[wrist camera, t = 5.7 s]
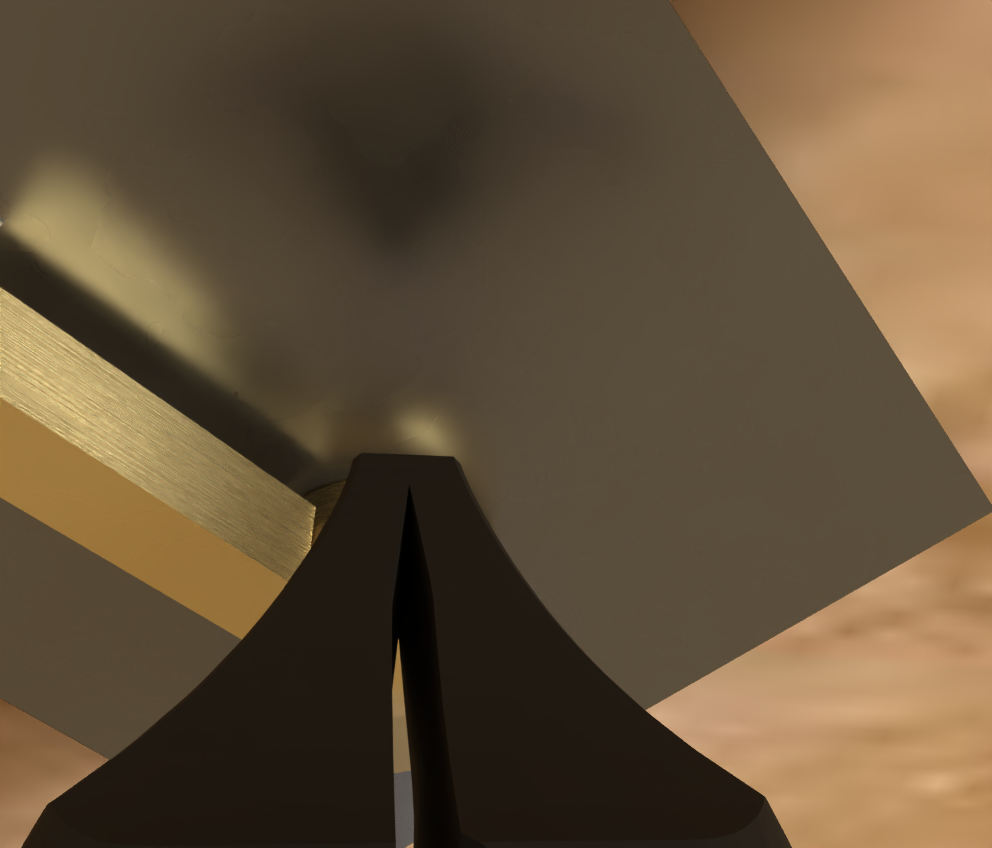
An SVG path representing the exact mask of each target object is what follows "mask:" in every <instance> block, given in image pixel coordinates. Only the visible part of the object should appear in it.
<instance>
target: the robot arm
mask: <svg viewBox="0 0 992 848" xmlns="http://www.w3.org/2000/svg"><path fill="white" fill-rule="evenodd" d="M398 638H399V650H400V661H401V672H402V683H403V693H404V704H405V715H406V725H407V736H408V747H409V757H410V768H411V778H412V793H413V813H414V848H792V847H791V845H790V843H789V841H788V839H787V837H786V835H785V833H784V831H783V829H782V827H781V826H780V824H779V822H778V820H777V818H776V816H775V814H774V812H773V810H772V809H771V807H770V805H769V803H768V801H767V799H766V798H765V797H764V796H763V795H762V794H760V793H759V792H757V791H756V790H754V789H753V788H751V787H750V786H748V785H747V784H745V783H744V782H742V781H741V780H739V779H738V778H736V777H735V776H733V775H732V774H730V773H729V772H727V771H726V770H724V769H723V768H721V767H720V766H718V765H717V764H716V763H714V762H713V761H711V760H710V759H708V758H707V757H705V756H704V755H702V754H701V753H699V752H698V751H696V750H695V749H694V748H692V747H691V746H690V745H688V744H687V743H686V742H684V741H683V740H682V739H681V738H679V737H678V736H677V735H675V734H674V733H673V732H672V731H670V730H669V729H668V728H667V727H665V726H664V725H663V724H661V723H660V722H659V721H658V720H656V719H655V718H654V717H653V716H651V715H650V714H649V713H648V712H647V711H645V710H644V709H643V708H642V707H641V706H640V705H639V704H638V703H637V702H636V701H634V700H633V699H632V698H631V697H630V696H629V695H628V694H627V693H626V692H625V691H623V690H622V689H621V688H620V687H619V686H618V685H617V684H616V683H615V682H614V681H612V680H611V679H610V678H609V677H608V676H607V675H606V674H605V673H604V672H603V671H602V670H601V669H600V668H599V667H598V666H597V665H596V664H595V663H594V662H593V661H592V660H591V659H590V658H589V657H588V655H587V654H586V653H585V652H584V651H583V650H582V649H581V648H580V647H579V646H578V645H577V644H576V642H575V641H574V640H573V639H572V638H571V637H570V636H569V635H568V633H567V632H566V631H565V630H564V629H563V628H562V627H561V625H560V624H559V623H558V622H557V621H556V619H555V618H554V617H553V616H552V614H551V613H550V612H549V611H548V609H547V608H546V607H545V606H544V604H543V603H542V602H541V600H540V599H539V598H538V596H537V595H536V594H535V592H534V591H533V589H532V588H531V587H530V585H529V584H528V583H527V581H526V580H525V579H524V577H523V576H522V574H521V573H520V571H519V570H518V568H517V567H516V565H515V564H514V562H513V561H512V559H511V558H510V556H509V555H508V553H507V551H506V550H505V548H504V547H503V545H502V543H501V542H500V540H499V539H498V537H497V535H496V534H495V532H494V531H493V529H492V527H491V525H490V524H489V522H488V520H487V518H486V517H485V515H484V513H483V511H482V509H481V507H480V505H479V504H478V502H477V500H476V498H475V496H474V494H473V492H472V490H471V488H470V485H469V483H468V481H467V479H466V476H465V474H464V472H463V469H462V466H461V464H460V463H459V462H458V461H457V460H456V459H455V457H454V456H432V455H407V454H382V453H361V454H359V455H358V456H357V457H355V458H354V459H353V460H352V465H351V469H350V472H349V475H348V478H347V480H346V483H345V485H344V488H343V490H342V492H341V494H340V496H339V498H338V500H337V502H336V504H335V506H334V508H333V510H332V512H331V514H330V516H329V518H328V519H327V521H326V523H325V525H324V526H323V528H322V530H321V532H320V533H319V535H318V537H317V539H316V540H315V542H314V544H313V545H312V547H311V549H310V550H309V552H308V553H307V555H306V556H305V558H304V559H303V561H302V562H301V564H300V565H299V567H298V568H297V569H296V571H295V572H294V574H293V575H292V577H291V578H290V580H289V581H288V582H287V584H286V585H285V587H284V588H283V590H282V591H281V592H280V594H279V595H278V596H277V598H276V599H275V600H274V602H273V603H272V604H271V605H270V607H269V608H268V609H267V610H266V612H265V613H264V614H263V615H262V617H261V618H260V619H259V620H258V621H257V623H256V624H255V625H254V626H253V627H252V629H251V630H250V631H249V632H248V633H247V634H246V636H245V637H244V638H243V639H242V640H241V641H240V642H239V643H238V645H237V646H236V647H235V648H234V649H233V650H232V651H231V652H230V653H229V654H228V655H227V656H226V657H225V658H224V659H223V660H222V661H221V662H220V663H219V664H218V666H217V667H216V668H215V669H214V670H213V671H212V672H211V673H210V674H209V675H208V676H207V677H206V678H205V679H204V680H203V681H202V682H201V683H200V684H199V685H198V686H197V687H196V688H195V689H193V690H192V691H191V692H190V693H189V694H188V695H187V696H186V697H185V698H184V699H182V700H181V701H180V702H179V703H178V704H177V705H176V706H174V707H173V708H172V709H171V710H170V711H169V712H167V713H166V714H165V715H164V716H163V717H162V718H160V719H159V720H158V721H157V722H156V723H155V724H154V725H152V726H151V727H150V728H149V729H148V730H147V731H145V732H144V733H143V734H142V735H141V736H140V737H138V738H137V739H136V740H135V741H134V742H132V743H131V744H130V745H129V746H127V747H126V748H125V749H124V750H122V751H121V752H120V753H118V754H117V755H116V756H114V757H113V758H112V759H110V760H109V761H107V762H106V763H105V764H103V765H102V766H101V767H99V768H98V769H96V770H95V771H94V772H92V773H91V774H89V775H88V776H87V777H85V778H84V779H83V780H81V781H80V782H78V783H77V784H76V785H74V786H73V787H72V788H70V789H69V790H67V791H66V792H65V793H63V794H62V795H61V796H59V797H58V798H56V799H55V800H53V801H52V802H50V803H49V804H47V806H46V808H45V809H44V811H43V812H42V814H41V815H40V817H39V819H38V820H37V822H36V824H35V825H34V827H33V829H32V830H31V832H30V834H29V835H28V837H27V839H26V840H25V842H24V844H23V846H22V848H396V831H395V800H394V763H393V706H392V688H393V680H394V672H395V663H396V655H397V646H398Z"/></svg>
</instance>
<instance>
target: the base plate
mask: <svg viewBox="0 0 992 848" xmlns="http://www.w3.org/2000/svg"><path fill="white" fill-rule="evenodd" d="M0 287H1V288H2V289H4V290H5V291H7V292H8V293H10V294H11V295H12V296H14V297H15V298H17V299H18V300H20V301H21V302H22V303H24V304H25V305H27V306H28V307H30V308H31V309H33V310H34V311H35V312H37V313H38V314H40V315H41V316H43V317H44V318H45V319H47V320H48V321H50V322H51V323H53V324H54V325H56V326H57V327H58V328H60V329H61V330H63V331H64V332H66V333H67V334H68V335H70V336H71V337H73V338H74V339H76V340H77V341H78V342H80V343H81V344H83V345H84V346H86V347H87V348H89V349H90V350H91V351H93V352H94V353H96V354H97V355H99V356H100V357H101V358H103V359H104V360H106V361H107V362H109V363H110V364H112V365H113V366H114V367H116V368H117V369H119V370H120V371H122V372H123V373H124V374H126V375H127V376H129V377H130V378H132V379H133V380H134V381H136V382H137V383H139V384H140V385H142V386H143V387H145V388H146V389H147V390H149V391H150V392H152V393H153V394H155V395H156V396H157V397H159V398H160V399H162V400H163V401H165V402H166V403H168V404H169V405H170V406H172V407H173V408H175V409H176V410H178V411H179V412H180V413H182V414H183V415H185V416H186V417H188V418H189V419H190V420H192V421H193V422H195V423H196V424H198V425H199V426H201V427H202V428H203V429H205V430H206V431H208V432H209V433H211V434H212V435H213V436H215V437H216V438H218V439H219V440H221V441H222V442H224V443H225V444H226V445H228V446H229V447H231V448H232V449H234V450H235V451H236V452H238V453H239V454H241V455H242V456H244V457H245V458H246V459H248V460H249V461H251V462H252V463H254V464H255V465H257V466H258V467H259V468H261V469H262V470H264V471H265V472H267V473H268V474H269V475H271V476H272V477H274V478H275V479H277V480H278V481H280V482H281V483H282V484H284V485H285V486H287V487H288V488H290V489H291V490H292V491H294V492H295V493H297V494H298V495H300V496H301V497H302V498H303V497H305V496H307V495H308V494H310V493H312V492H314V491H316V490H319V489H321V488H323V487H325V486H328V485H331V484H335V483H338V482H341V481H346V480H347V478H348V475H349V472H350V469H351V465H352V460H353V459H354V458H355V457H357V456H358V455H359V454H361V453H382V454H407V455H432V456H454V457H455V459H456V460H457V461H458V462H459V463H460V464H461V466H462V469H463V472H464V474H465V476H466V479H467V481H468V483H469V485H470V488H471V490H472V492H473V494H474V496H475V498H476V500H477V502H478V504H479V505H480V507H481V509H482V511H483V513H484V515H485V517H486V518H487V520H488V522H489V524H490V525H491V527H492V529H493V531H494V532H495V534H496V535H497V537H498V539H499V540H500V542H501V543H502V545H503V547H504V548H505V550H506V551H507V553H508V555H509V556H510V558H511V559H512V561H513V562H514V564H515V565H516V567H517V568H518V570H519V571H520V573H521V574H522V576H523V577H524V579H525V580H526V581H527V583H528V584H529V585H530V587H531V588H532V589H533V591H534V592H535V594H536V595H537V596H538V598H539V599H540V600H541V602H542V603H543V604H544V606H545V607H546V608H547V609H548V611H549V612H550V613H551V614H552V616H553V617H554V618H555V619H556V621H557V622H558V623H559V624H560V625H561V627H562V628H563V629H564V630H565V631H566V632H567V633H568V635H569V636H570V637H571V638H572V639H573V640H574V641H575V642H576V644H577V645H578V646H579V647H580V648H581V649H582V650H583V651H584V652H585V653H586V654H587V655H588V657H589V658H590V659H591V660H592V661H593V662H594V663H595V664H596V665H597V666H598V667H599V668H600V669H601V670H602V671H603V672H604V673H605V674H606V675H607V676H608V677H609V678H610V679H611V680H612V681H614V682H615V683H616V684H617V685H618V686H619V687H620V688H621V689H622V690H623V691H625V692H626V693H627V694H628V695H629V696H630V697H631V698H632V699H633V700H634V701H636V702H637V703H638V704H639V705H640V706H641V707H642V708H643V709H644V710H646V709H648V708H650V707H652V706H653V705H655V704H657V703H659V702H660V701H662V700H664V699H666V698H667V697H669V696H671V695H673V694H674V693H676V692H678V691H680V690H681V689H683V688H685V687H687V686H688V685H690V684H692V683H694V682H695V681H697V680H699V679H701V678H702V677H704V676H706V675H708V674H709V673H711V672H713V671H715V670H716V669H718V668H720V667H722V666H723V665H725V664H727V663H729V662H730V661H732V660H734V659H736V658H737V657H739V656H741V655H743V654H744V653H746V652H748V651H750V650H751V649H753V648H755V647H757V646H758V645H760V644H762V643H764V642H765V641H767V640H769V639H771V638H772V637H774V636H776V635H778V634H779V633H781V632H783V631H785V630H786V629H788V628H790V627H792V626H793V625H795V624H797V623H799V622H800V621H802V620H804V619H806V618H807V617H809V616H811V615H813V614H814V613H816V612H818V611H820V610H821V609H823V608H825V607H827V606H828V605H830V604H832V603H834V602H835V601H837V600H839V599H841V598H842V597H844V596H846V595H848V594H849V593H851V592H853V591H855V590H856V589H858V588H860V587H862V586H863V585H865V584H867V583H869V582H870V581H872V580H874V579H876V578H877V577H879V576H881V575H883V574H884V573H886V572H888V571H890V570H891V569H893V568H895V567H897V566H898V565H900V564H902V563H904V562H905V561H907V560H909V559H911V558H912V557H914V556H916V555H918V554H919V553H921V552H923V551H925V550H926V549H928V548H930V547H932V546H933V545H935V544H937V543H939V542H940V541H942V540H944V539H946V538H947V537H949V536H951V535H953V534H954V533H956V532H958V531H960V530H961V529H963V528H965V527H967V526H968V525H970V524H972V523H974V522H975V521H977V520H979V519H981V518H982V517H984V516H986V515H988V514H989V513H991V512H992V504H991V503H990V501H989V500H988V498H987V497H986V495H985V494H984V492H983V490H982V489H981V487H980V486H979V484H978V483H977V481H976V479H975V478H974V476H973V475H972V473H971V472H970V470H969V469H968V467H967V465H966V464H965V462H964V461H963V459H962V458H961V456H960V454H959V453H958V451H957V450H956V448H955V447H954V445H953V444H952V442H951V440H950V439H949V437H948V436H947V434H946V433H945V431H944V429H943V428H942V426H941V425H940V423H939V422H938V420H937V419H936V417H935V415H934V414H933V412H932V411H931V409H930V408H929V406H928V404H927V403H926V401H925V400H924V398H923V397H922V395H921V394H920V392H919V390H918V389H917V387H916V386H915V384H914V383H913V381H912V380H911V378H910V376H909V375H908V373H907V372H906V370H905V369H904V367H903V365H902V364H901V362H900V361H899V359H898V358H897V356H896V355H895V353H894V351H893V350H892V348H891V347H890V345H889V344H888V342H887V340H886V339H885V337H884V336H883V334H882V333H881V331H880V330H879V328H878V326H877V325H876V323H875V322H874V320H873V319H872V317H871V315H870V314H869V312H868V311H867V309H866V308H865V306H864V305H863V303H862V301H861V300H860V298H859V297H858V295H857V294H856V292H855V290H854V289H853V287H852V286H851V284H850V283H849V281H848V280H847V278H846V276H845V275H844V273H843V272H842V270H841V269H840V267H839V265H838V264H837V262H836V261H835V259H834V258H833V256H832V255H831V253H830V251H829V250H828V248H827V247H826V245H825V244H824V242H823V240H822V239H821V237H820V236H819V234H818V233H817V231H816V230H815V228H814V226H813V225H812V223H811V222H810V220H809V219H808V217H807V215H806V214H805V212H804V211H803V209H802V208H801V206H800V205H799V203H798V201H797V200H796V198H795V197H794V195H793V194H792V192H791V190H790V189H789V187H788V186H787V184H786V183H785V181H784V180H783V178H782V176H781V175H780V173H779V172H778V170H777V169H776V167H775V165H774V164H773V162H772V161H771V159H770V158H769V156H768V155H767V153H766V151H765V150H764V148H763V147H762V145H761V144H760V142H759V140H758V139H757V137H756V136H755V134H754V133H753V131H752V130H751V128H750V126H749V125H748V123H747V122H746V120H745V119H744V117H743V116H742V114H741V112H740V111H739V109H738V108H737V106H736V105H735V103H734V101H733V100H732V98H731V97H730V95H729V94H728V92H727V91H726V89H725V87H724V86H723V84H722V83H721V81H720V80H719V78H718V76H717V75H716V73H715V72H714V70H713V69H712V67H711V66H710V64H709V62H708V61H707V59H706V58H705V56H704V55H703V53H702V51H701V50H700V48H699V47H698V45H697V44H696V42H695V41H694V39H693V37H692V36H691V34H690V33H689V31H688V30H687V28H686V26H685V25H684V23H683V22H682V20H681V19H680V17H679V16H678V14H677V12H676V11H675V9H674V8H673V6H672V5H671V3H670V1H669V0H0ZM241 640H242V639H240V638H238V637H237V636H235V635H233V634H231V633H230V632H228V631H226V630H225V629H223V628H221V627H220V626H218V625H216V624H214V623H213V622H211V621H209V620H208V619H206V618H204V617H203V616H201V615H199V614H197V613H196V612H194V611H192V610H191V609H189V608H187V607H186V606H184V605H182V604H180V603H179V602H177V601H175V600H174V599H172V598H170V597H169V596H167V595H165V594H163V593H162V592H160V591H158V590H157V589H155V588H153V587H152V586H150V585H148V584H146V583H145V582H143V581H141V580H140V579H138V578H136V577H135V576H133V575H131V574H130V573H128V572H126V571H124V570H123V569H121V568H119V567H118V566H116V565H114V564H113V563H111V562H109V561H107V560H106V559H104V558H102V557H101V556H99V555H97V554H96V553H94V552H92V551H90V550H89V549H87V548H85V547H84V546H82V545H80V544H79V543H77V542H75V541H73V540H72V539H70V538H68V537H67V536H65V535H63V534H62V533H60V532H58V531H56V530H55V529H53V528H51V527H50V526H48V525H46V524H45V523H43V522H41V521H39V520H38V519H36V518H34V517H33V516H31V515H29V514H28V513H26V512H24V511H23V510H21V509H19V508H17V507H16V506H14V505H12V504H11V503H9V502H7V501H6V500H4V499H2V498H0V698H1V699H3V700H5V701H6V702H8V703H10V704H12V705H13V706H15V707H17V708H19V709H20V710H22V711H24V712H26V713H28V714H29V715H31V716H33V717H35V718H36V719H38V720H40V721H42V722H44V723H45V724H47V725H49V726H51V727H52V728H54V729H56V730H58V731H60V732H61V733H63V734H65V735H67V736H68V737H70V738H72V739H74V740H76V741H77V742H79V743H81V744H83V745H84V746H86V747H88V748H90V749H92V750H93V751H95V752H97V753H99V754H100V755H102V756H104V757H106V758H108V759H109V760H110V759H112V758H113V757H114V756H116V755H117V754H118V753H120V752H121V751H122V750H124V749H125V748H126V747H127V746H129V745H130V744H131V743H132V742H134V741H135V740H136V739H137V738H138V737H140V736H141V735H142V734H143V733H144V732H145V731H147V730H148V729H149V728H150V727H151V726H152V725H154V724H155V723H156V722H157V721H158V720H159V719H160V718H162V717H163V716H164V715H165V714H166V713H167V712H169V711H170V710H171V709H172V708H173V707H174V706H176V705H177V704H178V703H179V702H180V701H181V700H182V699H184V698H185V697H186V696H187V695H188V694H189V693H190V692H191V691H192V690H193V689H195V688H196V687H197V686H198V685H199V684H200V683H201V682H202V681H203V680H204V679H205V678H206V677H207V676H208V675H209V674H210V673H211V672H212V671H213V670H214V669H215V668H216V667H217V666H218V664H219V663H220V662H221V661H222V660H223V659H224V658H225V657H226V656H227V655H228V654H229V653H230V652H231V651H232V650H233V649H234V648H235V647H236V646H237V645H238V643H239V642H240V641H241ZM394 800H395V831H396V848H405V847H407V846H408V845H410V844H412V843H414V813H413V793H412V778H411V771H406V772H400V773H394Z"/></svg>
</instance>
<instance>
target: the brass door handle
mask: <svg viewBox="0 0 992 848" xmlns="http://www.w3.org/2000/svg"><path fill="white" fill-rule="evenodd" d="M345 483H346V481H341V482H338V483H335V484H331V485H328V486H325V487H323V488H321V489H319V490H316V491H314V492H312V493H310V494H308V495H307V496H305V497H303V498H302V497H301V496H300V495H298V494H297V493H295V492H294V491H292V490H291V489H290V488H288V487H287V486H285V485H284V484H282V483H281V482H280V481H278V480H277V479H275V478H274V477H272V476H271V475H269V474H268V473H267V472H265V471H264V470H262V469H261V468H259V467H258V466H257V465H255V464H254V463H252V462H251V461H249V460H248V459H246V458H245V457H244V456H242V455H241V454H239V453H238V452H236V451H235V450H234V449H232V448H231V447H229V446H228V445H226V444H225V443H224V442H222V441H221V440H219V439H218V438H216V437H215V436H213V435H212V434H211V433H209V432H208V431H206V430H205V429H203V428H202V427H201V426H199V425H198V424H196V423H195V422H193V421H192V420H190V419H189V418H188V417H186V416H185V415H183V414H182V413H180V412H179V411H178V410H176V409H175V408H173V407H172V406H170V405H169V404H168V403H166V402H165V401H163V400H162V399H160V398H159V397H157V396H156V395H155V394H153V393H152V392H150V391H149V390H147V389H146V388H145V387H143V386H142V385H140V384H139V383H137V382H136V381H134V380H133V379H132V378H130V377H129V376H127V375H126V374H124V373H123V372H122V371H120V370H119V369H117V368H116V367H114V366H113V365H112V364H110V363H109V362H107V361H106V360H104V359H103V358H101V357H100V356H99V355H97V354H96V353H94V352H93V351H91V350H90V349H89V348H87V347H86V346H84V345H83V344H81V343H80V342H78V341H77V340H76V339H74V338H73V337H71V336H70V335H68V334H67V333H66V332H64V331H63V330H61V329H60V328H58V327H57V326H56V325H54V324H53V323H51V322H50V321H48V320H47V319H45V318H44V317H43V316H41V315H40V314H38V313H37V312H35V311H34V310H33V309H31V308H30V307H28V306H27V305H25V304H24V303H22V302H21V301H20V300H18V299H17V298H15V297H14V296H12V295H11V294H10V293H8V292H7V291H5V290H4V289H2V288H1V287H0V498H2V499H4V500H6V501H7V502H9V503H11V504H12V505H14V506H16V507H17V508H19V509H21V510H23V511H24V512H26V513H28V514H29V515H31V516H33V517H34V518H36V519H38V520H39V521H41V522H43V523H45V524H46V525H48V526H50V527H51V528H53V529H55V530H56V531H58V532H60V533H62V534H63V535H65V536H67V537H68V538H70V539H72V540H73V541H75V542H77V543H79V544H80V545H82V546H84V547H85V548H87V549H89V550H90V551H92V552H94V553H96V554H97V555H99V556H101V557H102V558H104V559H106V560H107V561H109V562H111V563H113V564H114V565H116V566H118V567H119V568H121V569H123V570H124V571H126V572H128V573H130V574H131V575H133V576H135V577H136V578H138V579H140V580H141V581H143V582H145V583H146V584H148V585H150V586H152V587H153V588H155V589H157V590H158V591H160V592H162V593H163V594H165V595H167V596H169V597H170V598H172V599H174V600H175V601H177V602H179V603H180V604H182V605H184V606H186V607H187V608H189V609H191V610H192V611H194V612H196V613H197V614H199V615H201V616H203V617H204V618H206V619H208V620H209V621H211V622H213V623H214V624H216V625H218V626H220V627H221V628H223V629H225V630H226V631H228V632H230V633H231V634H233V635H235V636H237V637H238V638H240V639H243V638H244V637H245V636H246V634H247V633H248V632H249V631H250V630H251V629H252V627H253V626H254V625H255V624H256V623H257V621H258V620H259V619H260V618H261V617H262V615H263V614H264V613H265V612H266V610H267V609H268V608H269V607H270V605H271V604H272V603H273V602H274V600H275V599H276V598H277V596H278V595H279V594H280V592H281V591H282V590H283V588H284V587H285V585H286V584H287V582H288V581H289V580H290V578H291V577H292V575H293V574H294V572H295V571H296V569H297V568H298V567H299V565H300V564H301V562H302V561H303V559H304V558H305V556H306V555H307V553H308V552H309V550H310V549H311V547H312V545H313V544H314V542H315V540H316V539H317V537H318V535H319V533H320V532H321V530H322V528H323V526H324V525H325V523H326V521H327V519H328V518H329V516H330V514H331V512H332V510H333V508H334V506H335V504H336V502H337V500H338V498H339V496H340V494H341V492H342V490H343V488H344V485H345ZM392 706H393V763H394V773H400V772H406V771H411V768H410V757H409V747H408V736H407V725H406V715H405V704H404V693H403V683H402V672H401V661H400V650H399V638H398V646H397V655H396V663H395V672H394V680H393V688H392Z"/></svg>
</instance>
